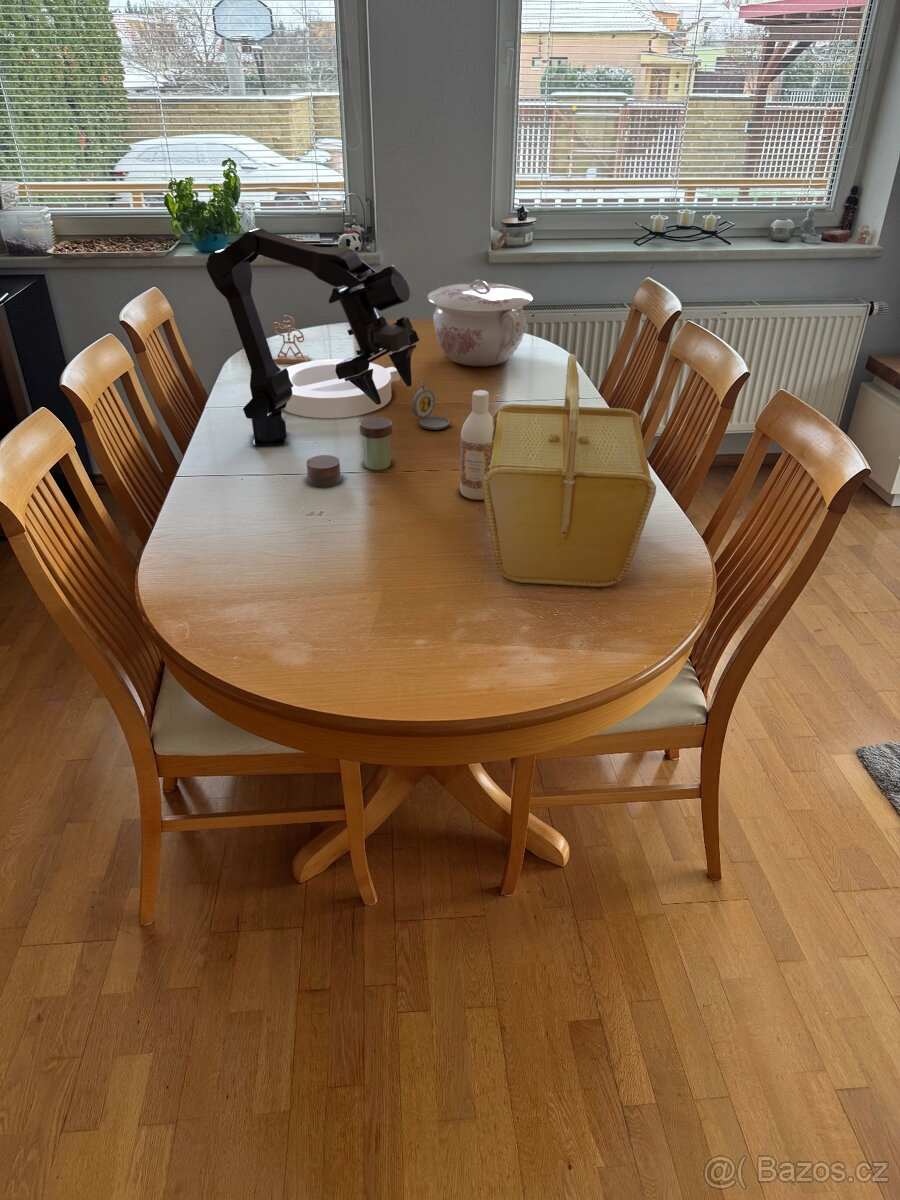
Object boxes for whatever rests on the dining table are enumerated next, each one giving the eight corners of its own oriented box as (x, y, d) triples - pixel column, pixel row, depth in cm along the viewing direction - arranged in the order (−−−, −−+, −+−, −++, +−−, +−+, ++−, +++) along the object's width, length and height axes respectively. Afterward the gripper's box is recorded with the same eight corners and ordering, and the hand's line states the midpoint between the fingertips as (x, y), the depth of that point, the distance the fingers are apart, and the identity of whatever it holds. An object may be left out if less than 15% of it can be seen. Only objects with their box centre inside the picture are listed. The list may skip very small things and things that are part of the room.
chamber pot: (436, 341, 250) (435, 265, 239) (532, 346, 247) (536, 269, 236) (419, 373, 227) (418, 291, 216) (525, 379, 224) (530, 296, 213)
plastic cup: (365, 470, 177) (363, 438, 174) (363, 459, 182) (361, 428, 178) (391, 469, 178) (390, 436, 174) (389, 458, 183) (387, 426, 179)
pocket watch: (446, 432, 194) (446, 388, 189) (409, 429, 196) (408, 385, 190) (453, 419, 201) (453, 376, 196) (417, 416, 202) (416, 373, 197)
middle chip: (307, 479, 169) (306, 469, 168) (307, 465, 175) (306, 456, 174) (341, 477, 170) (340, 467, 169) (339, 463, 175) (338, 454, 174)
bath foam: (455, 498, 167) (456, 396, 156) (465, 483, 173) (467, 384, 162) (490, 503, 165) (494, 401, 155) (500, 487, 171) (504, 388, 160)
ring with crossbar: (402, 381, 222) (402, 362, 220) (375, 422, 199) (374, 401, 197) (296, 374, 226) (295, 356, 224) (258, 413, 203) (255, 393, 201)
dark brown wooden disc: (361, 439, 173) (360, 429, 172) (358, 427, 178) (358, 417, 177) (393, 437, 174) (393, 428, 173) (390, 425, 179) (390, 416, 178)
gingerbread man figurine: (309, 359, 237) (305, 314, 230) (305, 363, 234) (302, 318, 227) (276, 358, 238) (272, 313, 231) (273, 362, 234) (268, 317, 228)
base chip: (308, 488, 170) (307, 479, 169) (307, 474, 176) (307, 465, 175) (341, 486, 171) (341, 477, 170) (339, 472, 177) (339, 463, 175)
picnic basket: (490, 505, 165) (495, 346, 148) (629, 512, 162) (650, 351, 146) (478, 588, 140) (483, 408, 124) (642, 597, 138) (668, 416, 122)
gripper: (356, 326, 156) (390, 408, 162) (422, 292, 167) (452, 370, 173) (318, 338, 164) (352, 416, 170) (384, 305, 175) (414, 379, 181)
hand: (394, 395), depth 173 cm, fingers open, 9 cm apart
